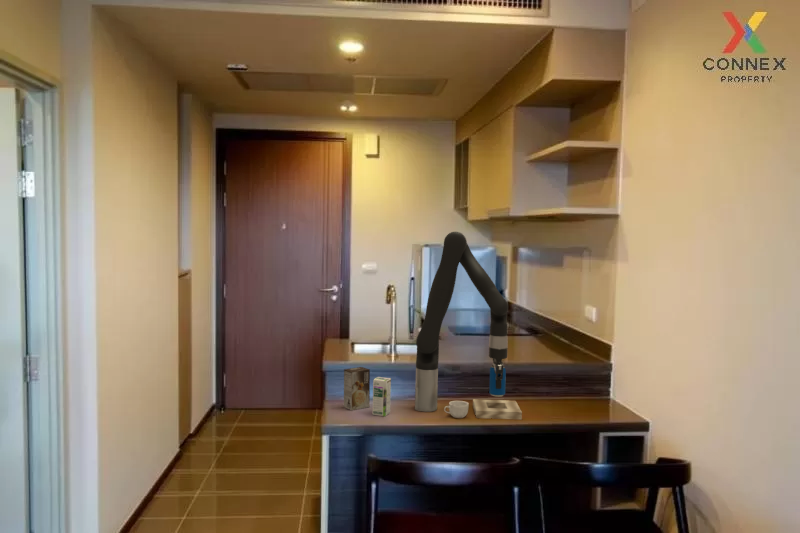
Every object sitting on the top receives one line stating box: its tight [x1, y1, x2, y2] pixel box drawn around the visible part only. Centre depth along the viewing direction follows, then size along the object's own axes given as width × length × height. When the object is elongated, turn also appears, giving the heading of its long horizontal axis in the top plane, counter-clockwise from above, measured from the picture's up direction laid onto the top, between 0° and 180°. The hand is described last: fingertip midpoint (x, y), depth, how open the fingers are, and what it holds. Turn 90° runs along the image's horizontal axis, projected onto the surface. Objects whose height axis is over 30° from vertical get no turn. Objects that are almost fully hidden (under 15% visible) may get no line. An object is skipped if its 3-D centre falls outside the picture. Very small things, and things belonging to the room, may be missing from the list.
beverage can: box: [488, 364, 507, 398], centre depth 238 cm, size 6×6×12 cm
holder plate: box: [472, 398, 523, 420], centre depth 239 cm, size 18×16×3 cm
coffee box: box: [343, 366, 371, 411], centre depth 242 cm, size 9×6×16 cm
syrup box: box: [371, 376, 392, 417], centre depth 233 cm, size 6×6×14 cm
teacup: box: [443, 400, 470, 419], centre depth 232 cm, size 10×8×5 cm
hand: (497, 386), depth 238 cm, fingers closed on beverage can, 6 cm apart
